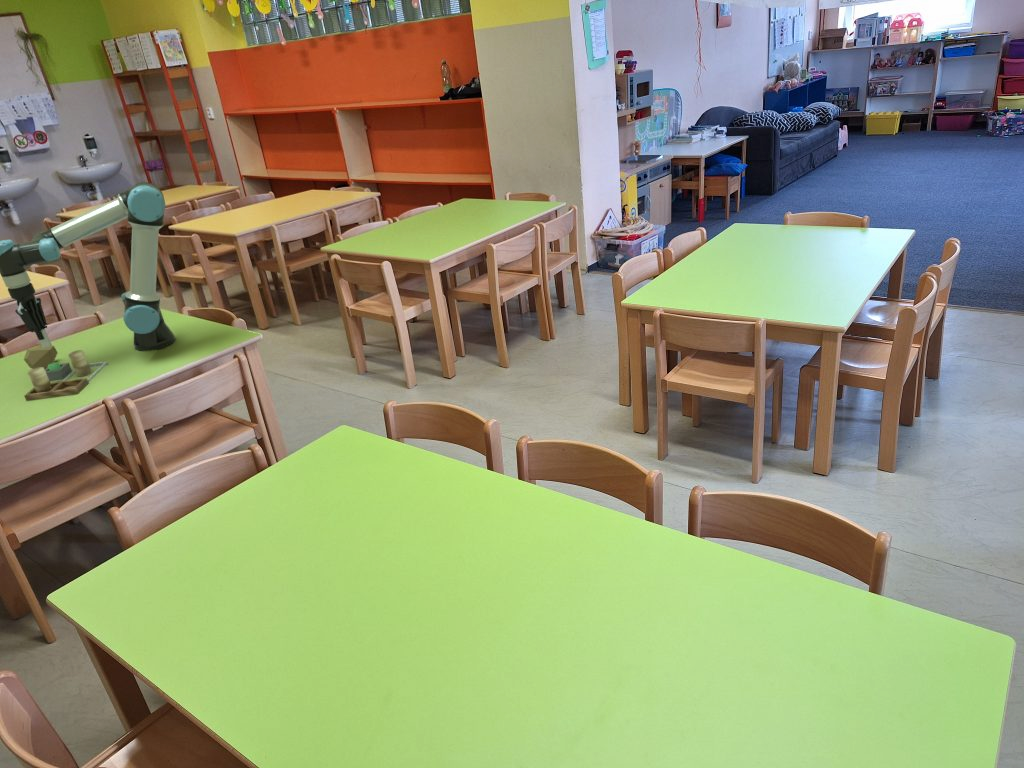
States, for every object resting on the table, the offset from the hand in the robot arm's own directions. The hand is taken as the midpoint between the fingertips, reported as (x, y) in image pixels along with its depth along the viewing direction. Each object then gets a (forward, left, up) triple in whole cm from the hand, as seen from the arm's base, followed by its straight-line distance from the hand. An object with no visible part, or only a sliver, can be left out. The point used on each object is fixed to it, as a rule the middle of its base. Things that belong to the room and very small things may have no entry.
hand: (47, 346), depth 260 cm
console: (0, 0, -13) cm, 13 cm away
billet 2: (-10, +1, -13) cm, 16 cm away
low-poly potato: (+11, -14, -13) cm, 22 cm away
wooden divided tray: (-7, +15, -13) cm, 21 cm away
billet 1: (-2, +15, -12) cm, 19 cm away
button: (0, 0, -13) cm, 13 cm away
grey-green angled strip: (-10, +1, -13) cm, 16 cm away
